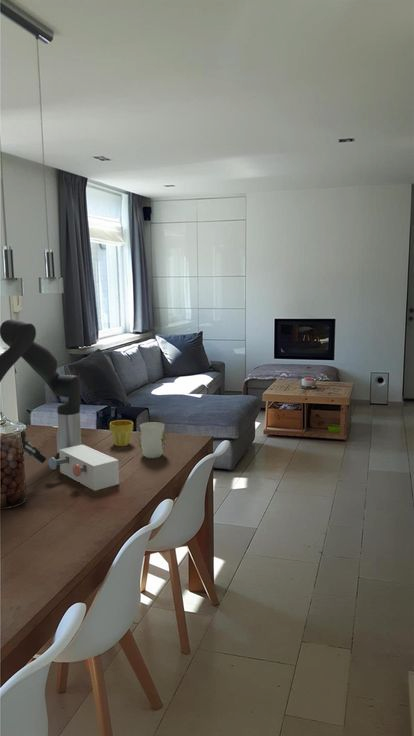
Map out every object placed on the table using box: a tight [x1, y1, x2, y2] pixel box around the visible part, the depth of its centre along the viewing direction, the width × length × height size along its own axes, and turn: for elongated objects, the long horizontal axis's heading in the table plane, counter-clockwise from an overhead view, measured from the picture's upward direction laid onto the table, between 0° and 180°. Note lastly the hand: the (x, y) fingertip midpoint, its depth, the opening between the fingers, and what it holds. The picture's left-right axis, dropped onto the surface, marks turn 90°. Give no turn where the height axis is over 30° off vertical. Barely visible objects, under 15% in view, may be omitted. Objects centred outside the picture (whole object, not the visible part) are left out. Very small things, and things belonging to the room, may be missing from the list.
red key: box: [73, 464, 86, 477], centre depth 206 cm, size 8×4×4 cm, turn 131°
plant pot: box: [109, 419, 134, 447], centre depth 257 cm, size 10×10×10 cm
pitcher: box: [138, 421, 167, 459], centre depth 241 cm, size 11×18×14 cm, turn 178°
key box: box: [58, 444, 120, 492], centre depth 214 cm, size 10×26×9 cm, turn 41°
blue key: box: [48, 456, 69, 470], centre depth 214 cm, size 8×4×4 cm, turn 131°
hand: (43, 460), depth 209 cm, fingers closed
